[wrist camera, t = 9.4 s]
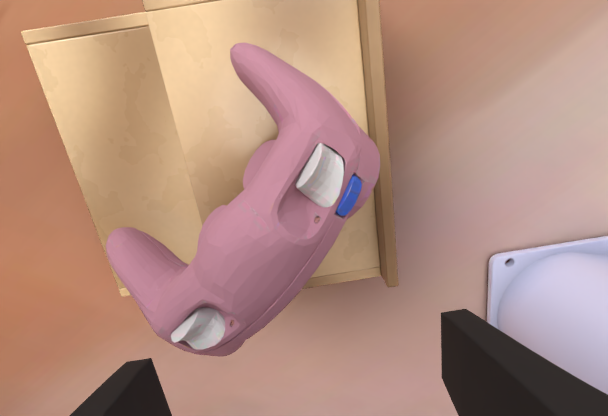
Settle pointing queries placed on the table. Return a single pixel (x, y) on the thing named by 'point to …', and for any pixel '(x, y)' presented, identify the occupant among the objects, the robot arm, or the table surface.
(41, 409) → the table surface
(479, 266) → the table surface
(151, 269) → the video game controller
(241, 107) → the step shelf
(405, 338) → the table surface
